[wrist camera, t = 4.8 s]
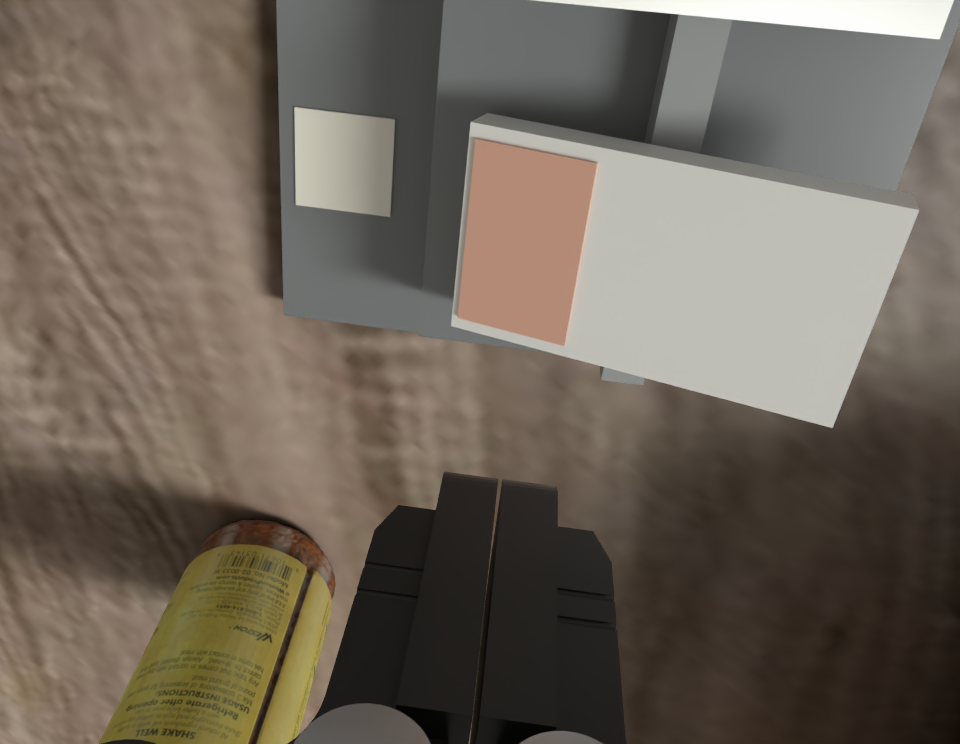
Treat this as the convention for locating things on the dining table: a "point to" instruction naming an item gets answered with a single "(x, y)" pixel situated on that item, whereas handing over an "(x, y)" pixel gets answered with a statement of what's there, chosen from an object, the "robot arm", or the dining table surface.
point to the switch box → (549, 100)
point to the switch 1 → (807, 13)
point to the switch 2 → (675, 263)
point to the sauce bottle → (233, 643)
